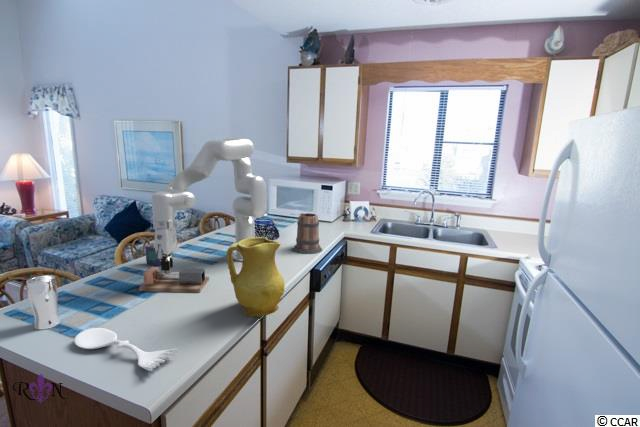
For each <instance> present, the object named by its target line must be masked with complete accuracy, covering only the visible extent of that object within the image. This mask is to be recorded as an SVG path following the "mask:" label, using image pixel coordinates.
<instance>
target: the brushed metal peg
mask: <svg viewBox="0 0 640 427" xmlns="http://www.w3.org/2000/svg"><path fill="white" fill-rule="evenodd" d="M164 256H165V255H164ZM165 257H166V256H165ZM168 261H169V262H170V257H169V256H168ZM179 272H180V271H179ZM179 272H178V271H177V272H175V271H174V272H173V271H171V269H170V270H169V271H158V272H157V273H156V280H179Z"/></svg>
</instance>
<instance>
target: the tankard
mask: <svg viewBox="0 0 640 427" xmlns="http://www.w3.org/2000/svg"><path fill="white" fill-rule="evenodd" d="M318 216H319V215H318V214H316V213H309V212H307V213H299V215H298V219H297V222H296V223H297V230H296V231H297V232H296V233H297V234H296V237H295V238H296V239H295V242H296V244H295V245H294V246H293V248H292V251H293V252H294V253H296V254H301V255H317V254H320V253H321V252H323V248H322V247H321V245H320V237H319V234H320V233H319V226H320V221H319V217H318Z"/></svg>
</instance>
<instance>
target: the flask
mask: <svg viewBox="0 0 640 427" xmlns="http://www.w3.org/2000/svg"><path fill="white" fill-rule="evenodd" d="M145 261H146V265H147V266H153V267H156V266H157V267H161V261H160V259H158V255H157V254H156V252H155V242H151V243H150V244H145Z"/></svg>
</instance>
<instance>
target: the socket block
mask: <svg viewBox="0 0 640 427" xmlns="http://www.w3.org/2000/svg"><path fill="white" fill-rule="evenodd" d="M157 272H159V267H148V268H147V269H145V270H144V271H143V284H154V283H155V282H156V281H157V280H156V273H157Z"/></svg>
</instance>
